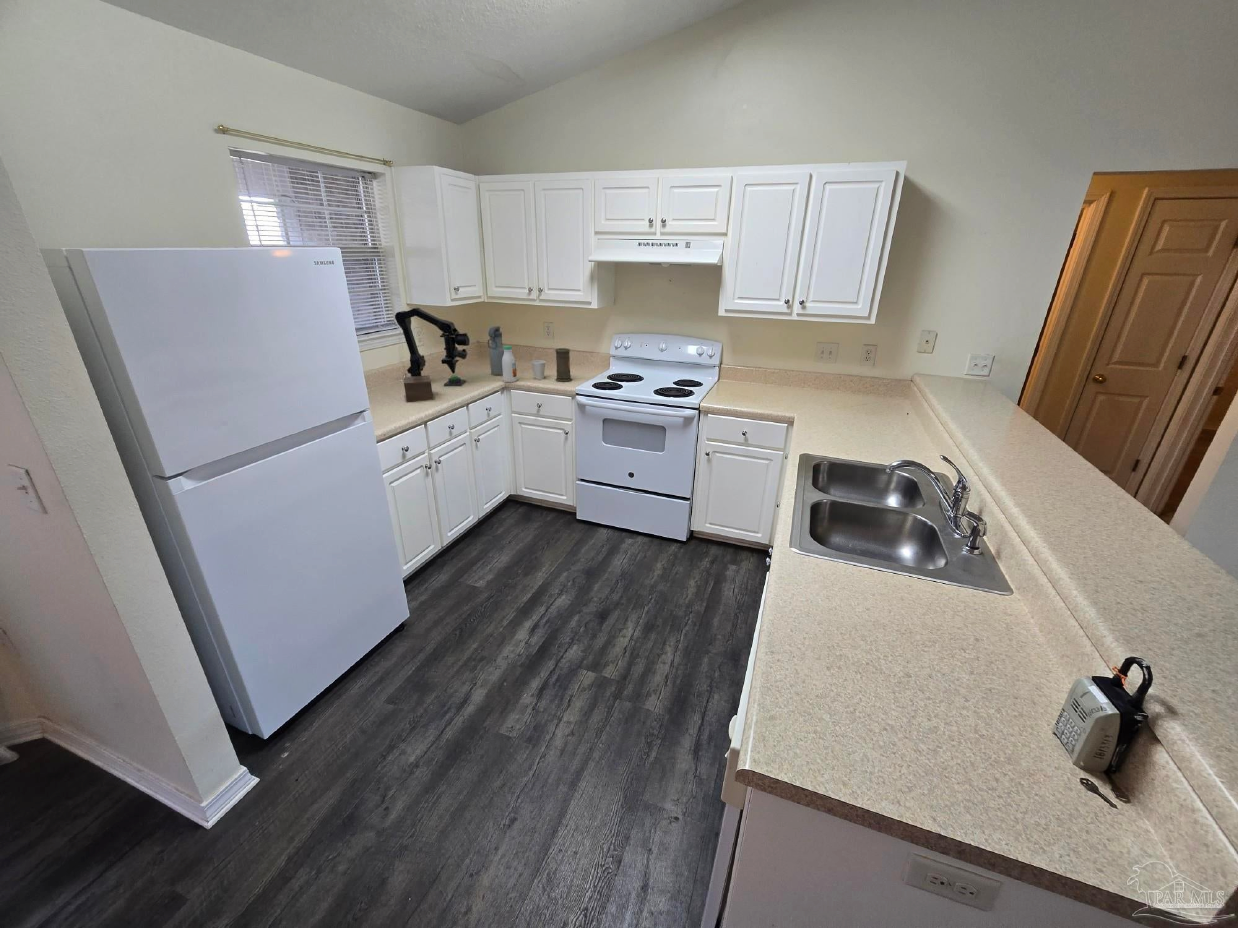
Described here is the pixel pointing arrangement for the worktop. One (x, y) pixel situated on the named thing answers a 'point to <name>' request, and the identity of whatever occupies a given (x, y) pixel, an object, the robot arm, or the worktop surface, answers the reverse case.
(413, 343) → the robot arm
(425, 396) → the brown block
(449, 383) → the control block
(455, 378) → the button
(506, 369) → the milk bottle
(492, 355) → the water bottle
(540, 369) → the dixie cup
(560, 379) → the container
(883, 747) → the worktop surface
